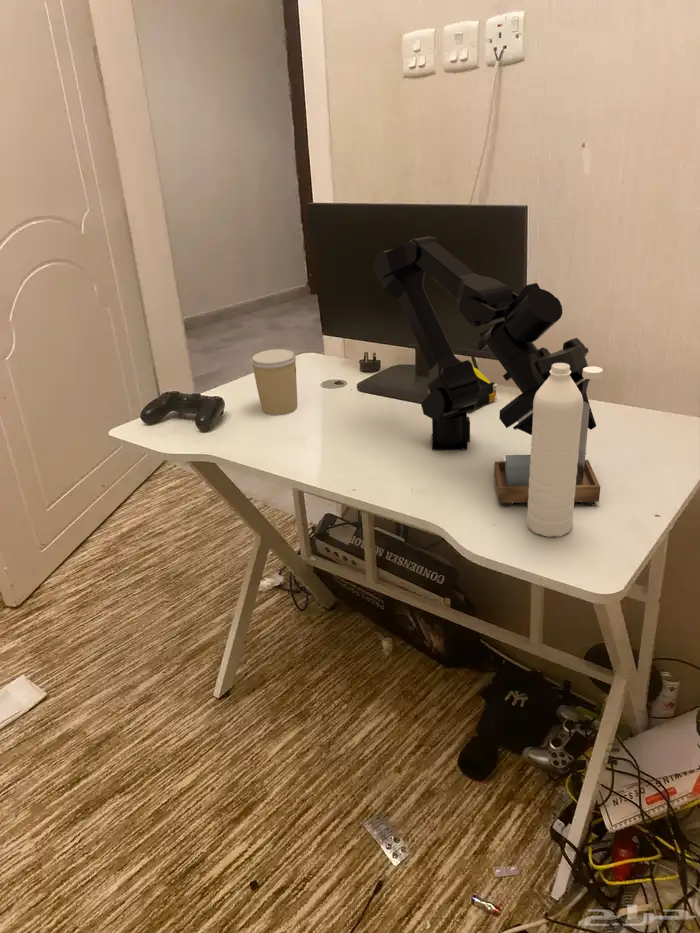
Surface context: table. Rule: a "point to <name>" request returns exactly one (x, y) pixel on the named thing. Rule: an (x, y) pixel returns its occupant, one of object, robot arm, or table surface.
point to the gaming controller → (484, 389)
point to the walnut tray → (519, 494)
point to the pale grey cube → (517, 470)
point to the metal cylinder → (582, 444)
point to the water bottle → (555, 451)
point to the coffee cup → (276, 381)
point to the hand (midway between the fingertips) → (579, 438)
